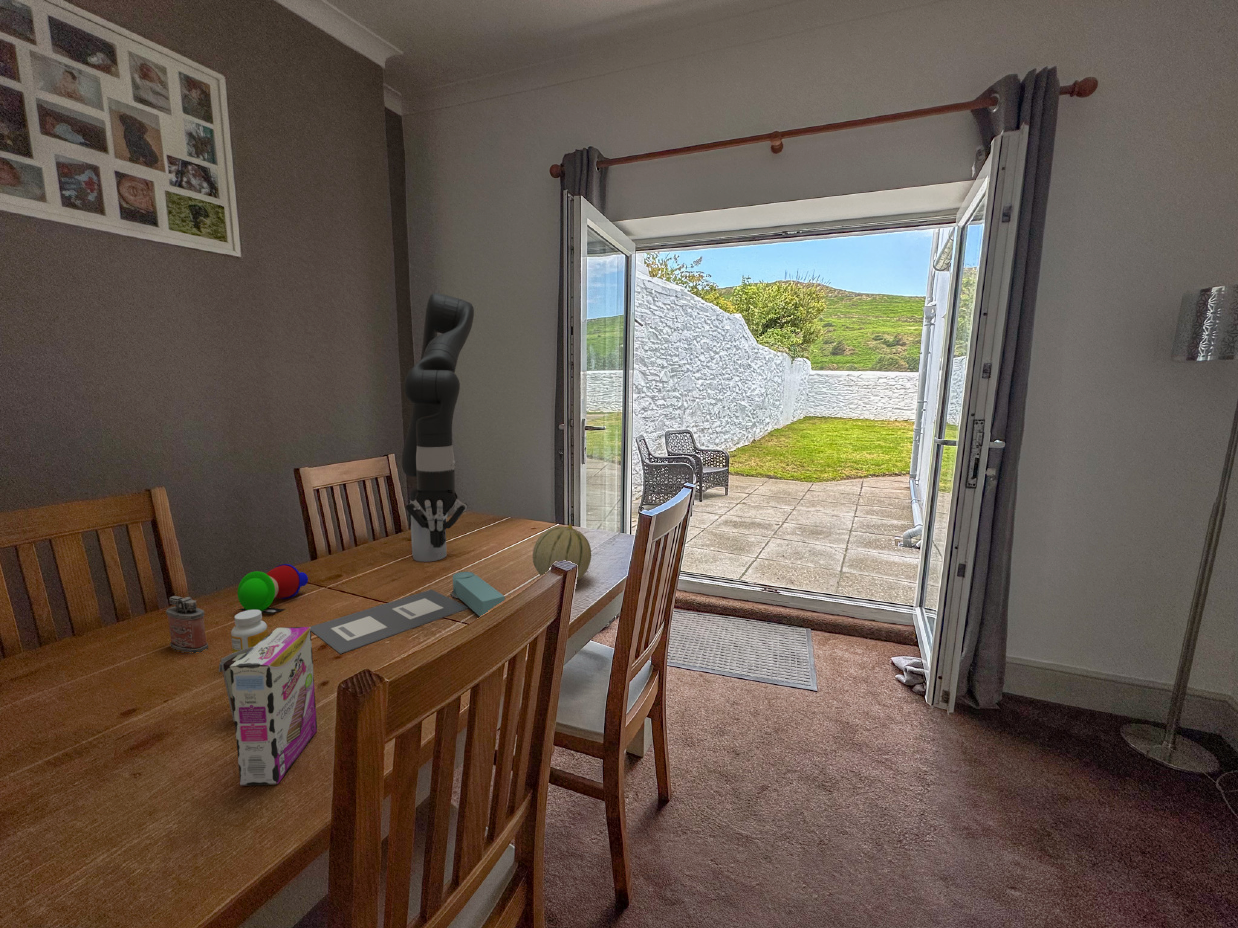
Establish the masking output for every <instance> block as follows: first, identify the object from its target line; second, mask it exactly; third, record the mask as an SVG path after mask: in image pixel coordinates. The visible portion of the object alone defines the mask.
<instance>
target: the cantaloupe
mask: <svg viewBox="0 0 1238 928" xmlns="http://www.w3.org/2000/svg"><path fill="white" fill-rule="evenodd" d="M563 560H566V561H571V562H572V563H575V564H577V565H578V577H577V581H579V580H581V579H582V577H583V576H584V575H585V574H586V572H587V571H588V569H589V568H590V564H591V561H592V548H591V545H590V541H589V540H588V539H587V537H586V536H585V535H584V534H583V533H582V532H580V531H579V530H577V529H575V528H573V525H572V523H568V526H561V525H558V526H553V527H550V528H548V529H547V530H544V532H542V533H541V535H540V536H539V537H538V538H537V539H536V541H535V543H534V545H533V551H532V563H533V566H534V568H535V571H536V572H537V573H538V574H539V576H540V577H541V575H543V574H545V572H547V571H548V570H549V568H550V567H551V565H552V564H553V563H554V562H555V561H563Z"/></svg>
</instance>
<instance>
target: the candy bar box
mask: <svg viewBox="0 0 1238 928" xmlns="http://www.w3.org/2000/svg"><path fill="white" fill-rule="evenodd" d="M312 644H313V643H312V632H311V626H295V627H294V626H293V627H291V626H290V627H289V626H288V627H276V628H275V629H274V630H272V631H271V632H270V633H268V636H267V637H265V638H264V639H263V640H262V641H261V642H259V643H258V644H257V645H256V646H254V647H253V648H252V649H251V650H249V651H248V652H247V653H246V654H244V655H243V656H242V657H241V658H239V659H238V660H237V661H236V662H234V663H233V664H232V665H231V666H230V673H231V685H232V696H233V707H234V720H235V722H234V728H235V740H236V748H237V749H236V750H237V763H238V772H239V773H238V775H239V785H240V786H243V787H244V786H247V787H248V786H271V785H272V786H274V785H279V783H280V782H281V781H282V779H283V777H284V776H285V775H286V774H287V772H288V771H289V769H290V768H291V767H292V765H294V763H295V761H296V760H297V759H298V757H299V756H300V755H301V753H302V752H303V751H304V749H305V748H306V746H307V745H308V744H309V742H310V741H311V740H312V738H313V737H314V735H315V734H317V731H318V721H317V709H316V693H315V691H316V690H315V677H314V661H313V660H314V658H313V647H312Z"/></svg>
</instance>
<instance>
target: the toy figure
mask: <svg viewBox="0 0 1238 928" xmlns="http://www.w3.org/2000/svg"><path fill="white" fill-rule="evenodd" d="M308 582H309V577H308V575H307V574H306V573H305V572H304V571H303V572H300V571H299V570H298V568H296V567H295V566H294V565H292V564H288V563H283V564H279V565H276V566H275V567H274V568H271V569H270V570H269V571H268V572H263V571H257V570H256V571H252V572H249V573H247V574H246V575H244V576H243V577H242V579H241V580H240V582H239V584H238V587H237V599H238V602H239V603H240V605H241V606H242V607H243V608H240V609H238V611H241V612H243V611H247V610H260V611H261V613H262V614H266V615H271V614H275V613H278V612H282V611H285V610H286V609H285V608H276V607H271V608H269V607H270V606H271V605H272V604H273V601H274V599H281V600H288V599H290V598H294V597H295V596H296V595H297V594H298V593H299V591H300V590H301V588H302V587H305V586H306V585H307V584H308Z"/></svg>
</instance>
